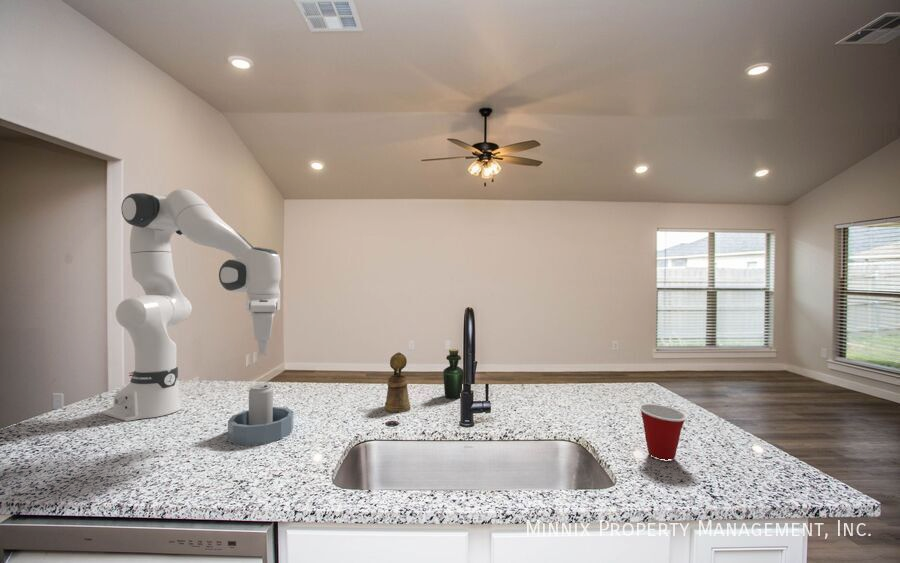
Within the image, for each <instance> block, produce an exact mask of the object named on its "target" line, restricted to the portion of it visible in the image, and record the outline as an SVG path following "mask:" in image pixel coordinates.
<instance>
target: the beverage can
mask: <svg viewBox="0 0 900 563" xmlns="http://www.w3.org/2000/svg"><path fill="white" fill-rule="evenodd" d="M272 386H273V385H272V384H271V383H269V382H267V383H266V382H263V383H262V382H261V383H255V384H251V385H250V387H249V388H250V389H249V390H248V410H249V425H259V424H267V423H271V422H273V407H274V388H273V387H272Z"/></svg>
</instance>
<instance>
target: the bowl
mask: <svg viewBox="0 0 900 563" xmlns="http://www.w3.org/2000/svg"><path fill="white" fill-rule="evenodd" d="M293 430H294V411H293V409H292V410H291V409H290V408H288V407H284V406H283V407H280V406H273V422H271V423H267V424H259V425H249V409H246V410H243V411H241V412H239V413H238V412H237V413H236V414H234V415H232V416H231V417H230V418H229V419H228V420H227V440H228V439H229V440H230V441H231V442H232V443H235V444H234V445H237V444H241V445H240V446H244V445H250V446H256V445H255V444H261V445H266V444H265V443H267V444H270V443H269V442H271V443H273V442H272V441H274V442H277V441H276V440H278V441H280V440H279V439H281V440H283V439H284V438H283V437H285V436H286V437H288V436H290V435H291V434H292V433H293ZM290 433H291V434H290ZM289 434H290V435H289ZM287 435H288V436H287ZM286 437H285V438H286ZM282 438H283V439H282ZM229 440H228V441H229ZM230 441H229V442H230ZM231 442H230V443H231ZM232 443H231V444H232Z"/></svg>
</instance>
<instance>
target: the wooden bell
mask: <svg viewBox="0 0 900 563" xmlns="http://www.w3.org/2000/svg"><path fill="white" fill-rule="evenodd" d="M407 362H408V361H407V357H406V356H405V355H404V354H402V353H401V352H397V353H395V354H393V355H392V356H391V357H390V361H389V366H390V368H391V369H393V375H389V376H388V379H387V384H386V385H387V390H386V391H387V394H386V399H385V402H384V410H385V411H387V412H390V413H403V412H408V411H410V410H411V402H410V399H409V393H408V392H409V390H408V379H407V375H403V374H402V370H403V369H404V368H406V366H407Z"/></svg>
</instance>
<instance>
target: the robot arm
mask: <svg viewBox="0 0 900 563" xmlns="http://www.w3.org/2000/svg"><path fill="white" fill-rule="evenodd" d="M120 207H121V208H120V209H121V215H122V217H123V219H124V220H125V222H126V223H127V224H128V225H131V231H130V237H129V238H130V239H129V254H130V264H131V265H130V266H131V275H132V278H133V279H134V281H135V282H137V283H138V284H140V286H141V288H142V289H143V291H144V293H145V294H141V295H140V294H139V295H136V296H131V297H130V298H126V299H124V300H121V302H119V304H118V306H117V307H116V309H115V319H116V322H117V323H118V324H119V325H120V326H121V327H123V328H124V329H126V331H127V332H128V334H129V336H130V338H131V340H132V342H133V347H134V370H133V372H132V371H131V372H128V374H129V375H128V377H131V378H130V381H129V383H128V384H126V386H124V387H123V388H121V389H119V391H118V392H117V393H116V394H114V397H113V402H112V403H113V404H112V405H113V406H112V407H109V408H107V409H105V410H104V411H103V415H104V416H108V417H112V418H115V419H117V420H118V419H119V420H122V421H125V422H129V421H135V420H140V419H149V418H157V417H162V416H163V417H164V416H166V415H170V414H173V413H176V412H178V411H179V410H181V409H182V407H183V403H184V401H183V400H182V399H181V390H180V382H179V381H178V377H179V368H178V366H177V364H178V363H177V362H178V361H177V358H178V356H177V355H178V354H177V353H178V352H177V351H178V348H177V347H178V346H177V344H176V341H174V340H172V339H171V338H170V335H169V333H168V330H167V327H169V326H175V325H178V324H180V323H182V322H184V321H186V320H187V319H188V318H190V316H191V314H192V312H193V306H192V304H191V301H190V300H189V299H188V298H187V297H185V295H184V294H183V292H182V290H181V288H180V287H179V284H178V282H177V278H176V276H175V269H174V261H173V252H172V245H171V243H172V242H171V237H172V235H173V234H175V233H176V234H177V235H179V236H182V235H184V236H185V237H186V238H187V239H188V240H189V241H191V242H193V243H195V244H198V245H201V246H204V247H210V248H213V249H218V250H221V251H223V252H226V253H228V254H230V255H231V256H233V257H234V258H232V259H228V260H226V261H225V262H223V264H222V265H220V268H219V272H218V279H219V283H220V285H221V286H222V287H223V289H225V290H226V291H230V292H237V293H238V292H239V293H240V292H242V293H243V292H245V293H246V301H245V302H246V304H245V305H246V306H245V308H246V310H247V311H249V312H250V316H251V317H252V325H253V334H254V339H255V341H257V344H258V356H265V355H266V354H267V346H268V345H267V343H268V341H269V340H271V335H272V329H273V321H274V317H275V316H276V312H277V311H280V310H281V295H282V294H281V289H280V283H281V280H282V267H281V266H282V264H281V263H282V262H281V258H280V254H279V252H277V250H275V249H274V250H273V249H270V248H264V247H257V246H255V247H254V246H253V245H252V244H250V242H249V241H248V240H247V239H246V238H245V237H243V235H242V234H240V233H238V232H237V231H236V230H235V229H233V227H232V226H230V225H229V224H227V223H226V222H225V221H224V220H223V219H222V218H221V217H220V216H219V215H218V214H217V213H216V212H215V211H214V209H212V208H211V206H210V205H209V204H208V203H207V202H206V201H205V200H204V199H203V198H202V197H201V196H199V194H196V192H194V191H192V190H189V189H186V188H178V189H175V190H173V191H171V192H169V194H168V195H159V194H149V193H143V192H141V193H140V192H139V193H138V192H137V193H131V194H128V195H127V196H126V197H124V199H123V201H122V203H121V206H120Z"/></svg>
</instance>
